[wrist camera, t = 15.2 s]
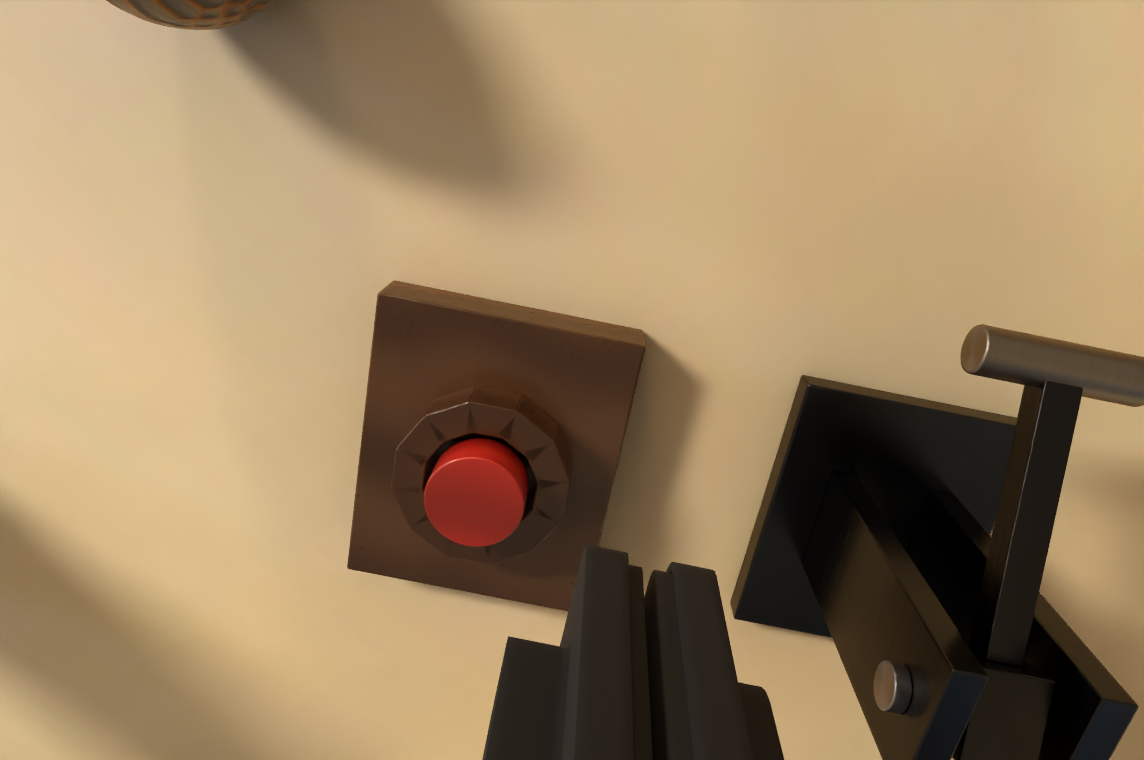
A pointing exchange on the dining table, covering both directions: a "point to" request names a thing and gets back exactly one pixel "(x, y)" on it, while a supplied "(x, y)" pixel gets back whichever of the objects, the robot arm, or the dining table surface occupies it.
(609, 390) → the housing
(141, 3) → the vase
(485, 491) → the button
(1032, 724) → the switch lever
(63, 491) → the dining table surface
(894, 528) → the switch bracket
